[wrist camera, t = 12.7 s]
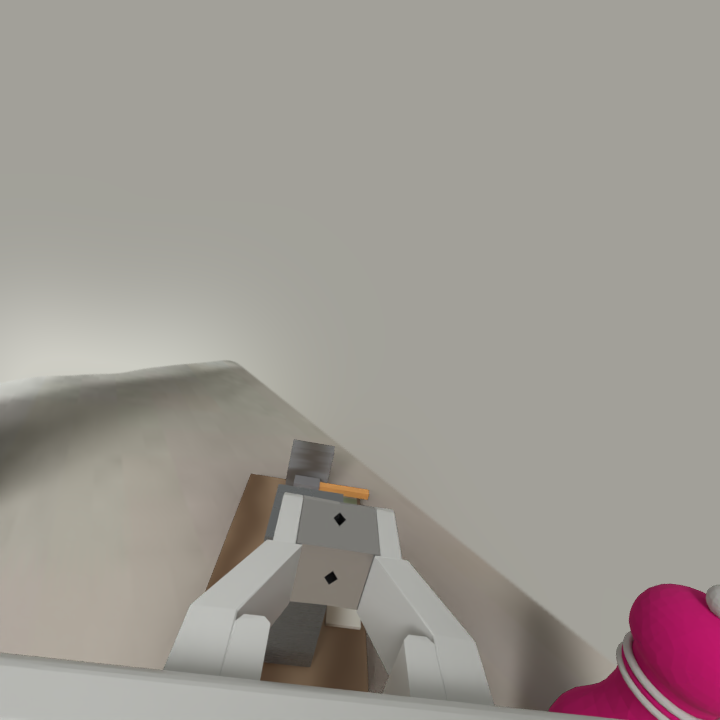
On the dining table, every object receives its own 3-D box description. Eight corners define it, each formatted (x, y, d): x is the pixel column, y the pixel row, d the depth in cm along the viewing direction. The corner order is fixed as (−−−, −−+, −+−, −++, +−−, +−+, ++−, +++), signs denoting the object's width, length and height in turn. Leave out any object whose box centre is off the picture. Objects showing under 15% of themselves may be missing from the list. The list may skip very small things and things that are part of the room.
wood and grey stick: (290, 499, 43) (293, 483, 43) (292, 490, 45) (295, 474, 44) (365, 511, 44) (369, 495, 44) (364, 502, 46) (368, 486, 45)
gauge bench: (172, 686, 26) (178, 614, 24) (249, 483, 47) (256, 433, 44) (363, 706, 28) (388, 639, 25) (357, 500, 48) (370, 452, 46)
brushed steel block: (243, 660, 27) (264, 536, 23) (269, 548, 37) (288, 446, 33) (310, 667, 28) (342, 547, 24) (319, 555, 37) (344, 455, 33)
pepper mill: (509, 722, 29) (626, 525, 22) (597, 738, 29) (738, 548, 22) (551, 876, 22) (738, 656, 15) (665, 894, 22) (897, 687, 16)
